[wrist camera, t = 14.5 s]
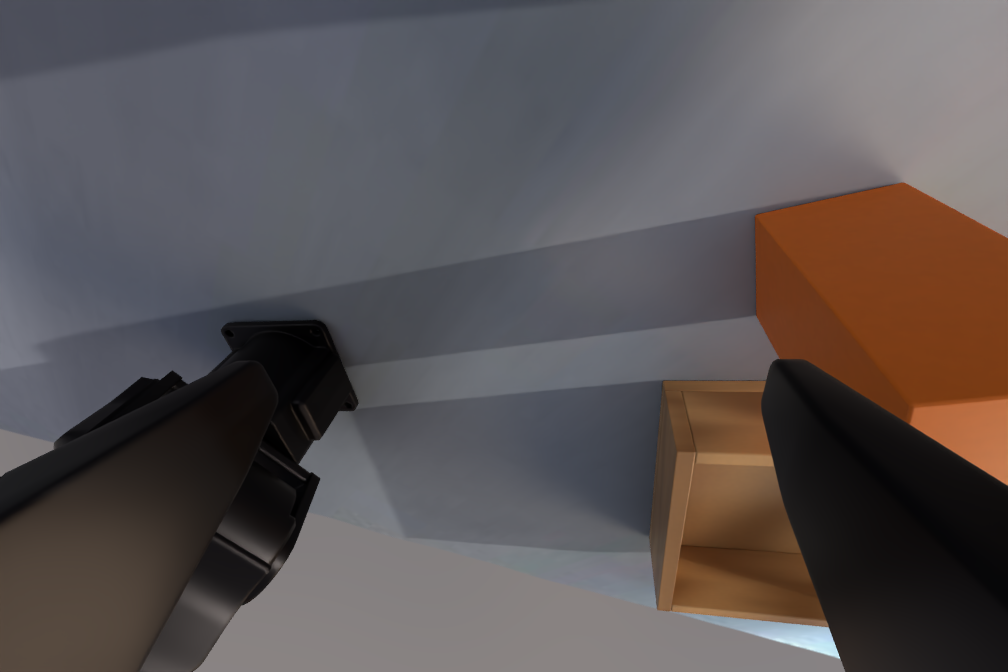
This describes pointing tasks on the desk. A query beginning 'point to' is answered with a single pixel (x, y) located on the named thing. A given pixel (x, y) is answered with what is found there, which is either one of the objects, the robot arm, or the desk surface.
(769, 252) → the orange square pillar
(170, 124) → the desk surface
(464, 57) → the desk surface
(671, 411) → the wooden box
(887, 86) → the desk surface
